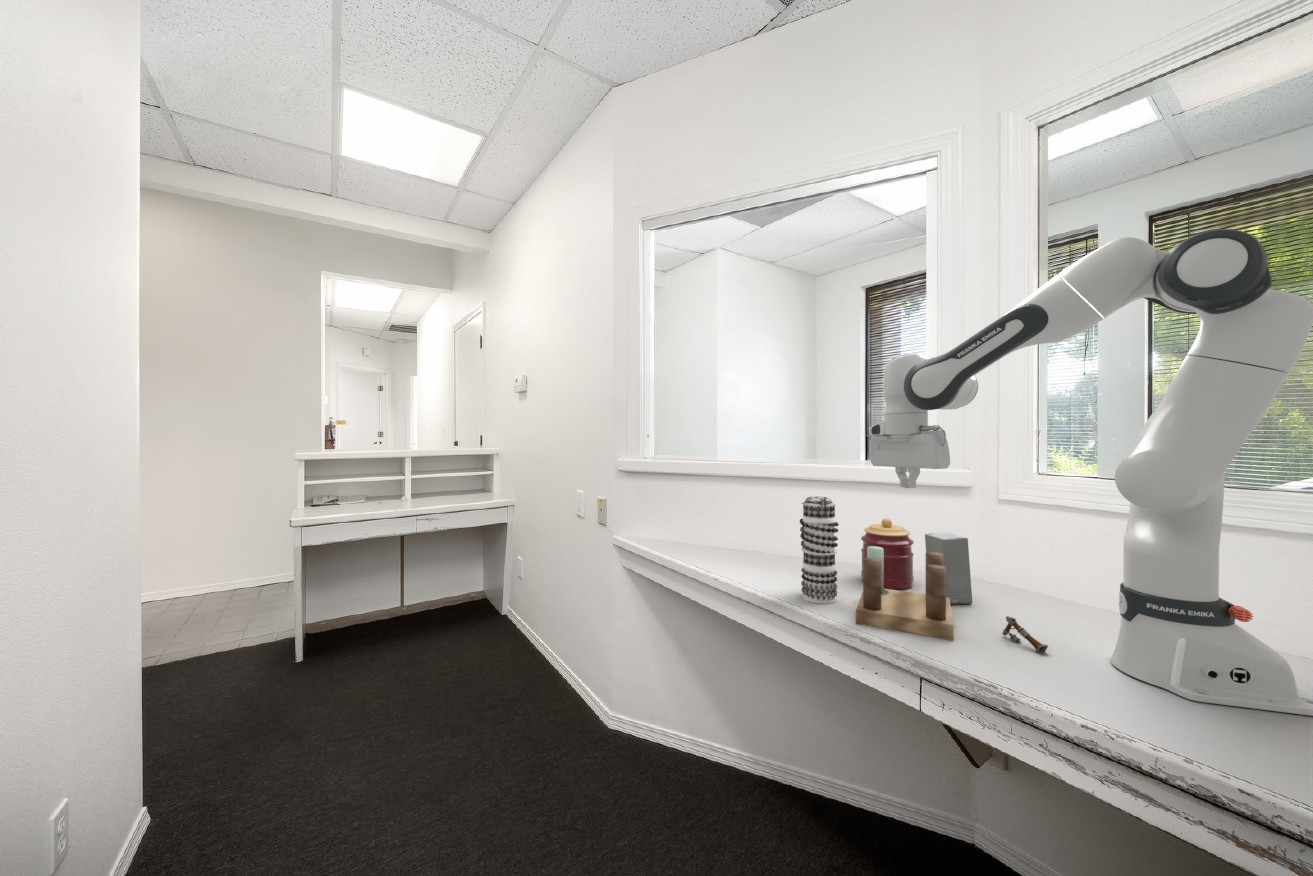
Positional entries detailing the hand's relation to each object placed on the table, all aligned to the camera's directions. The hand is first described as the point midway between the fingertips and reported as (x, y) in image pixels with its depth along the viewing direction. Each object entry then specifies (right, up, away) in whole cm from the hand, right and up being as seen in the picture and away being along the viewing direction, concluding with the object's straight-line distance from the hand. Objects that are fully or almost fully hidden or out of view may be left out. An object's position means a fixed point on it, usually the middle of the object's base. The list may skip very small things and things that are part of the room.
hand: (908, 487), depth 110 cm
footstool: (-2, -29, -2) cm, 29 cm away
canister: (+6, -29, +23) cm, 37 cm away
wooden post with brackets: (+14, -29, -16) cm, 36 cm away
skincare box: (+15, -29, +10) cm, 34 cm away
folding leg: (-6, -25, +4) cm, 26 cm away
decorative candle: (-16, -29, +11) cm, 35 cm away
